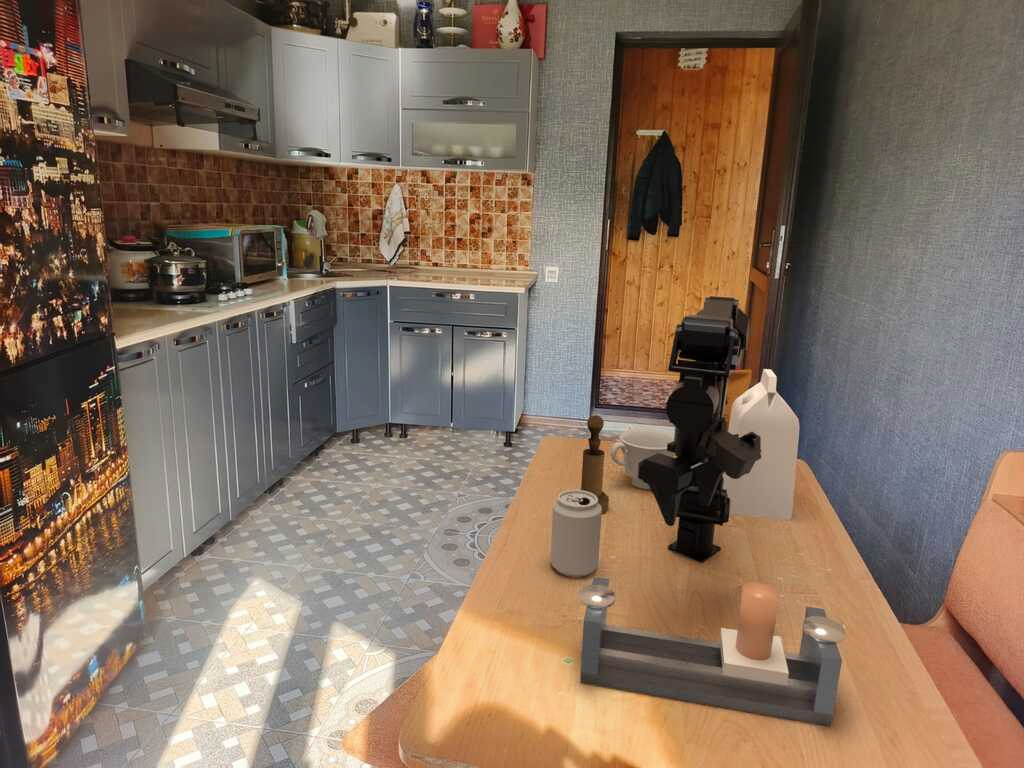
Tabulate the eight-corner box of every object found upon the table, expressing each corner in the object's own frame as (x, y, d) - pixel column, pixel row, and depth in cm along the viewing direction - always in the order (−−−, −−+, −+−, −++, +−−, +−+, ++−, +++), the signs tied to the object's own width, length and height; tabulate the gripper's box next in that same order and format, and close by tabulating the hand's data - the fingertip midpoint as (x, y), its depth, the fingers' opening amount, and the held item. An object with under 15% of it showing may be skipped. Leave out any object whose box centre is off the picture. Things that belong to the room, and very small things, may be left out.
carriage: (722, 674, 80) (731, 603, 78) (719, 638, 87) (727, 572, 85) (787, 685, 79) (797, 613, 77) (778, 648, 86) (788, 580, 83)
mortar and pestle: (611, 503, 133) (617, 413, 128) (604, 517, 127) (610, 423, 122) (577, 498, 135) (582, 409, 130) (568, 511, 129) (573, 419, 124)
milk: (791, 520, 128) (810, 383, 121) (726, 514, 130) (741, 378, 123) (779, 494, 139) (796, 367, 132) (719, 488, 141) (733, 363, 134)
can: (595, 582, 105) (600, 509, 102) (546, 576, 107) (549, 504, 104) (599, 558, 112) (604, 489, 109) (553, 552, 114) (556, 484, 111)
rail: (570, 680, 84) (573, 614, 81) (581, 632, 93) (584, 571, 91) (842, 728, 77) (855, 657, 75) (824, 670, 87) (835, 606, 84)
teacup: (593, 479, 144) (595, 433, 141) (652, 469, 150) (656, 425, 147) (626, 502, 133) (629, 453, 131) (688, 490, 139) (693, 443, 137)
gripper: (717, 440, 83) (704, 558, 87) (786, 410, 96) (772, 514, 100) (639, 418, 90) (630, 528, 94) (712, 393, 103) (702, 490, 107)
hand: (687, 515), depth 99 cm, fingers open, 9 cm apart
